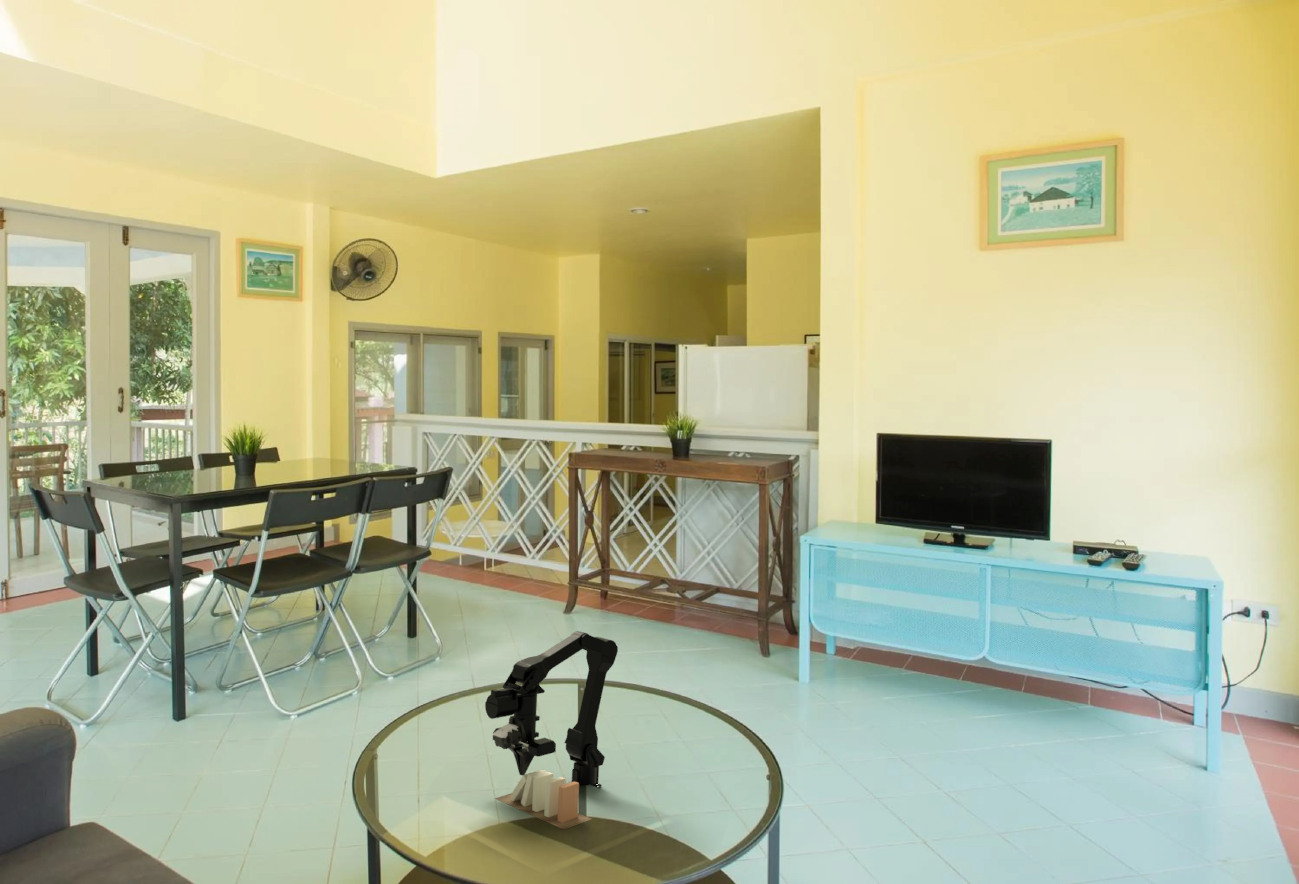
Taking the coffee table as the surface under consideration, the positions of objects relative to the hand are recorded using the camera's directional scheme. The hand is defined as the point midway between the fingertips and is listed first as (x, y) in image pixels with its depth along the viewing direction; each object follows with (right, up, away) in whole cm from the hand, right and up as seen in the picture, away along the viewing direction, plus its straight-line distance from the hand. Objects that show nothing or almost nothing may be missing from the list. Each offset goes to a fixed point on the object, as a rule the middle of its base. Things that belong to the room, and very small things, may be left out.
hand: (522, 774), depth 205 cm
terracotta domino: (+13, -6, -12) cm, 18 cm away
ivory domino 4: (+9, -6, -9) cm, 14 cm away
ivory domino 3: (+6, -6, -6) cm, 10 cm away
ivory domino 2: (+3, -6, -3) cm, 7 cm away
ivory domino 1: (-1, -6, 0) cm, 6 cm away
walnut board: (+6, -7, -6) cm, 11 cm away
